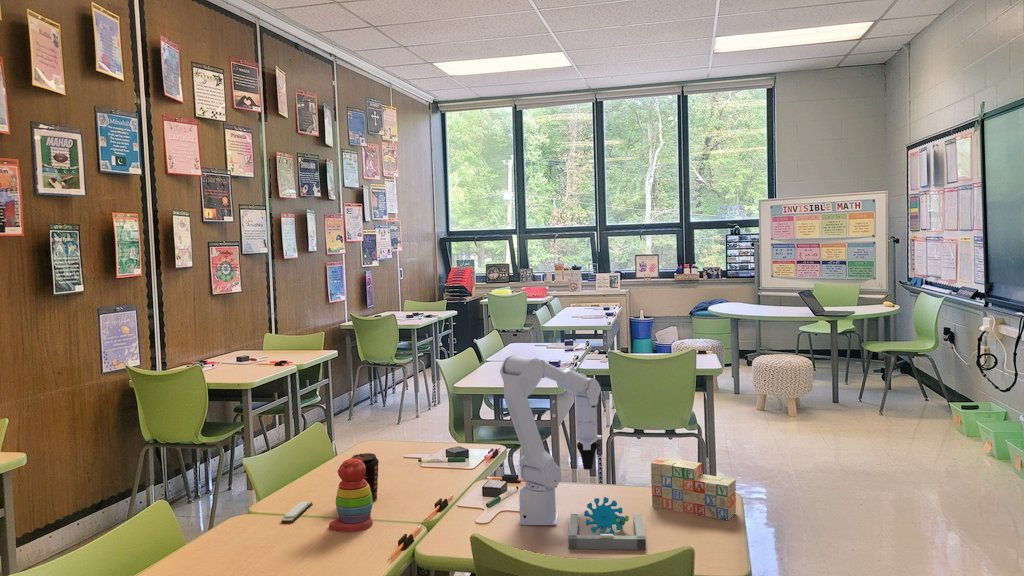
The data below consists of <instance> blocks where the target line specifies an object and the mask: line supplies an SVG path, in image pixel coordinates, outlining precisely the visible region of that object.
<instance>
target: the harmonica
mask: <svg viewBox="0 0 1024 576" xmlns="http://www.w3.org/2000/svg"><path fill="white" fill-rule="evenodd" d="M313 505H314V504H313V501H305V500H304V501H299V502H298V503H297V504H296V505H295V506H293V507H292V508H291V509H290V510H288V511H287V512H286V513H285V514H284V517H283V519H281V523H280V524H284V525H287V524H294V523H295V522H296V521H297V520H298V519H299V518H301V516H302V515H304V513H306V512H307V509H308V510H309V509H310V508H311V507H312V506H313Z"/></svg>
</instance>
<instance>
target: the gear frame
mask: <svg viewBox="0 0 1024 576" xmlns="http://www.w3.org/2000/svg"><path fill="white" fill-rule="evenodd" d="M632 517H633V529H634V535H613V534H609V533H605V534H600V533H599V534H600V535H599V534H598V535H597V534H596V535H595V534H594V535H592V534H590V535H589V534H579V513H570V516H569V525H568V526H569V527H568V535H567V536H568V539H567V543H568V549H569V550H580V549H581V550H628V551H629V550H632V551H634V550H637V551H646V550H647V542H646V541H647V540H646V534H645V533H646V532H645V528H644V522H643V516H642V514H638V513H637V514H633V516H632Z"/></svg>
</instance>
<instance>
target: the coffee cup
mask: <svg viewBox="0 0 1024 576" xmlns="http://www.w3.org/2000/svg"><path fill="white" fill-rule="evenodd" d="M358 457H361V458H362V460H363V461H362V462H363V463H364V464H365V467H366V472H365V476H364V478H363V479H365V480H366V481H367V483H368V484H369V486H370V490H371V493H372V501H373V503H375V502H376V501H377V499H378V487H379V486H378V485H379V484H378V483H379V482H378V480H379V463H380V462H379V461H380V460H379V459H378V458H377V455H376V454H375V453H372V452H368V453H367V452H366V453H365V452H364V453H359V454H358V453H357V454H354V455H352V457H351V458H355V459H357V458H358Z"/></svg>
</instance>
